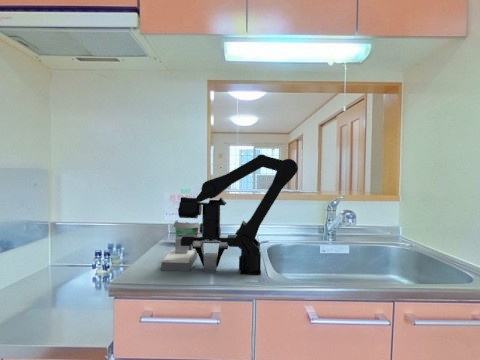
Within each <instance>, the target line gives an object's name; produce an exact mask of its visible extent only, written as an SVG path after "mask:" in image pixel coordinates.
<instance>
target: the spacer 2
mask: <svg viewBox="0 0 480 360" xmlns="http://www.w3.org/2000/svg"><path fill="white" fill-rule="evenodd" d="M217 255H218V252H204V267H203V272H205V273H207V272H208V273H209V272H210V273H211V272H212V273H217V269H218V267H217V265H216V263H217Z"/></svg>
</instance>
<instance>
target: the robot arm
mask: <svg viewBox="0 0 480 360" xmlns="http://www.w3.org/2000/svg"><path fill="white" fill-rule="evenodd" d="M261 168H265V169H268V170H272V171H276V172H275V175H274V177H273V180H272V182H271V184H270V186H269V187H268V189H267V191H266V192H265V194H264V196H263V197H262V199H261V201H260V202H259V204H258V205H257V207H256V209H255V211H254V212H253V214H252V215H251V217H250V218H249V219H248V221H245V220H242V221H241V224H240V227H239V228H238V229H236V231H235V233H234V234H228V235H227V237H221V231H222V228H221V206H226V205H227V201H225V200H224V199H223V197H219V199H214V198H217V197H218V196H219V195H221V194H222V193H224V191H226V190H227V189H228V188H230V187H231V186H232V185H233V184H235V183H236V182H238V181H240V180H242V179H243V178H245V177H247V176H249V175H250V174H253V173H254V172H256V171H257V170H259V169H261ZM298 169H299V167H298V163H297V162H296V161H295V160H294V159H292V158H286V159H279V158H275V157H271V156H268V155H265V154H261V153H260V154H258V155H257V156H255V158H253V159H251V160H249V161H248V162H246V163H244V164H242V165H240V166H238V167H236V168H235V169H234V170H233V169H232V170H231V171H230V172H228V173H226V174H224V175H220V176H217V177H215V178H212V179H209V180H205V182H203V183H202V185H201V190H200V192H199V194H198V195H197V196H196V197H187V196H182V197H180V201H179V204H178V208H177V212H178V213H177V215H178V218H179V219H198V218H199V216H201V215H202V216H201V218H202V220H201V221H202V222H201V223H199V233H200V234H201V235H202V236H197V237H196V236H195V234H185V235H184V236H183V237H182V238H181V246H191V245H192V244H193V246H192V250H196V251H197V256H198V257H199V260H200V263H201V265H202V268H204V255H205V251H204V250H205V249H204V244H218V249H217V250H218V251H217V263H216V265H217V268H219V264H220V261H221V258H222V255H223V253H224V252H225V250H228V249H229V248H238V249H240V255H239V256H238V271H239V272H240V273H239V274H241V275H261V274H262V271H261V269H262V268H261V264H262V263H261V259H262V254H261V243H260V242H259V241H258V240H257V239H256V236H257V235H258V231H259V228H260V227H261V225H262V223H263V221H264V220H265V218H266V216H267V215H268V213H269V211H270V209H271V208H272V206H273V205H274V203H275V202H276V200H277V198H278V196H279V195H280V193H281V191H282V190H283V188H284V187H285V186H286V185H287V184H288V183H289V182H290V181H291V180H292V179H293V178H294V176H295V175H296V174H297V173H298ZM206 200H209V201H208V202H204V201H206Z"/></svg>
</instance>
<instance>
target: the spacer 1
mask: <svg viewBox="0 0 480 360" xmlns="http://www.w3.org/2000/svg"><path fill="white" fill-rule="evenodd" d="M181 238H182V237H177V238H176V237H175V239H174V240H175V241H174V243H175V248H174V250H175V253H176V254H187V253H188V251H189V246H181Z"/></svg>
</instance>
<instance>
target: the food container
mask: <svg viewBox="0 0 480 360" xmlns="http://www.w3.org/2000/svg"><path fill="white" fill-rule="evenodd" d="M173 227H174V228H175V239H176V238H177V237H178V234H195V236H196V237H198V234H199V232H198V231H199V228H200V223H199V222H187V221H186V222H179V220H178V219H177V220H175V221H174V224H173ZM192 247H193V244H192Z"/></svg>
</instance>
